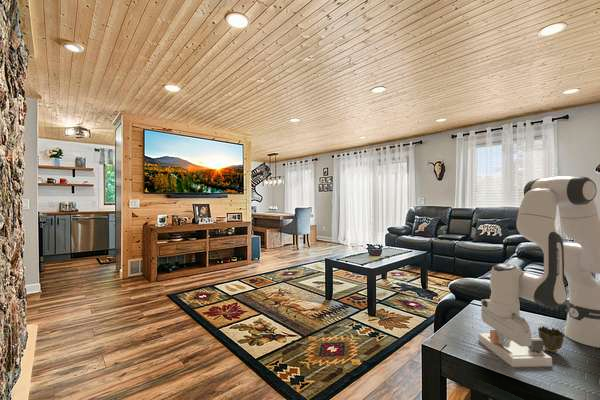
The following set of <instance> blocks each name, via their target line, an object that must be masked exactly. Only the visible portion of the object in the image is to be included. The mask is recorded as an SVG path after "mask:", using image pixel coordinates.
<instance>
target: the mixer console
mask: <svg viewBox="0 0 600 400" xmlns="http://www.w3.org/2000/svg"><path fill="white" fill-rule="evenodd" d="M478 342H479V343H481V344H482V345H484V346H485V348H487V349H489V350H490V351H492V353H493V354H495V355H497V356H498V357H499V358H500V359H502V360H503V361H504V362H505V363H506V364H508V365H510V367H511V368H529V367H533V368H534V367H535V368H536V367H552V366H553V357H552V356H550V355H548V354H547V353H545V352H544V351H538V352H533V351H532V350H530V349H529V348H528V346H520V345H518V344H516V343H515V342H513V341H511V342H510V347H507V348H506V347H504V346H503V345H502V344H494V343H493V342H491V341H490V332H483V333H480V332H479V333H478Z"/></svg>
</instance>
